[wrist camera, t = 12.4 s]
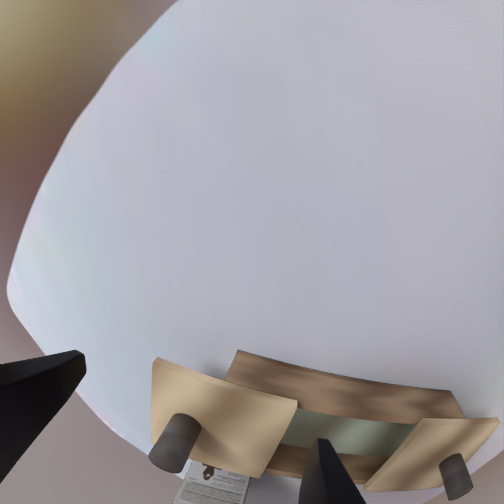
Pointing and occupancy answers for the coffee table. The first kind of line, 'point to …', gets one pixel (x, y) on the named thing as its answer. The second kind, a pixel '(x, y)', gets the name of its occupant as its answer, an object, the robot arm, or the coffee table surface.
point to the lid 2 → (434, 456)
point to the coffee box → (212, 486)
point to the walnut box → (340, 413)
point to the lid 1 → (213, 421)
